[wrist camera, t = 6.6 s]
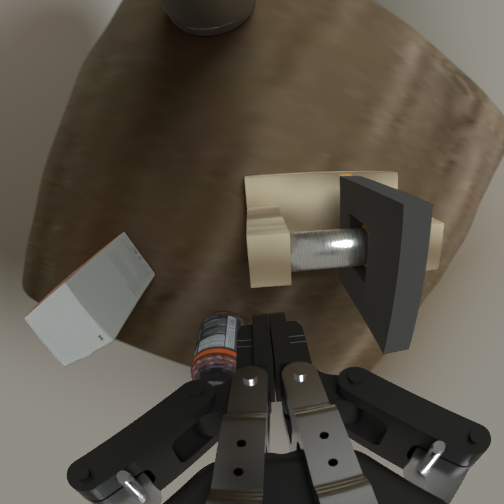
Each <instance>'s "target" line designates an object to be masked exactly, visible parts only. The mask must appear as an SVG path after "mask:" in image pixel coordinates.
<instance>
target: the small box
mask: <svg viewBox="0 0 504 504" xmlns="http://www.w3.org/2000/svg"><path fill="white" fill-rule="evenodd" d="M154 276H155V273H154V272H153V270H152V269H151V268H150V266H149V265H148V264H147V262H146V261H145V260H144V258H143V257H142V255H141V254H140V253H139V251H138V250H137V249H136V247H135V246H134V244H133V243H132V242H131V240H130V239H129V237H128V236H127V235H126V233H125V232H123V233H121V234H120V235H119V236H117V237H116V238H115V239H114V240H112V241H111V242H110V243H108V244H107V245H106V246H105V247H103V248H102V249H101V250H100V251H98V252H97V253H96V254H95V255H94V256H92V257H91V258H90V259H89V260H87V261H86V262H85V263H84V264H82V265H81V266H80V267H79V268H78V269H77V270H75V271H74V272H73V273H72V274H71V275H70V276H68V277H67V278H66V279H65V280H64V281H63V282H61V283H60V284H59V285H58V286H57V287H56V288H55V289H53V290H52V291H51V292H50V293H49V294H48V295H47V296H46V297H45V298H44V299H43V300H41V301H40V302H39V303H38V304H37V305H36V306H35V307H34V308H33V309H32V310H31V311H30V312H29V313H28V314H27V315H26V316H25V317H24V319H25V320H26V322H27V323H28V324H29V326H30V327H31V328H32V329H33V331H34V332H35V333H36V334H37V335H38V337H39V338H40V339H41V341H42V342H43V343H44V344H45V345H46V347H47V348H48V349H49V350H50V351H51V352H52V354H54V356H55V357H56V358H57V359H58V360H59V361H60V363H61V364H62V365H63V366H64V367H65V366H68V365H71V364H73V363H75V362H77V361H79V360H81V359H83V358H85V357H87V356H89V355H91V354H93V353H94V352H96V351H97V350H99V349H101V348H103V347H104V346H106V345H108V344H110V343H112V342H113V341H114V340H115V338H116V336H117V335H118V333H119V331H120V330H121V328H122V327H123V325H124V323H125V322H126V320H127V318H128V317H129V315H130V314H131V312H132V310H133V309H134V307H135V305H136V304H137V302H138V300H139V299H140V297H141V296H142V294H143V293H144V291H145V290H146V288H147V287H148V285H149V284H150V282H151V281H152V279H153V278H154Z"/></svg>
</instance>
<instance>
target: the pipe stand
mask: <svg viewBox="0 0 504 504" xmlns="http://www.w3.org/2000/svg"><path fill="white" fill-rule="evenodd" d="M340 176H362V177H365V178H368V179H371V180H373V181H376V182H379V183H382V184H384V185H387V186H390V187H392V188H395V189H398V173H397V172H393V171H333V172H304V173H284V174H268V175H254V176H245V190H246V202H247V233H246V237H247V249H248V260H249V271H250V283H251V288H257V287H270V286H282V285H291V272H297V271H308V270H320V269H331V268H342V267H353V266H363V265H364V266H365V267H366V266H367V251H368V233H369V228H368V227H367V226H365V225H364V224H363V226H362V227H361V228H349V229H340ZM443 230H444V223H442V222H440V221H438V220H436V219H434V218H432V222H431V232H430V241H429V250H428V257H427V264H426V270H433V269H438V267H439V260H440V254H441V247H442V239H443Z"/></svg>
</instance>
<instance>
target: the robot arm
mask: <svg viewBox="0 0 504 504" xmlns="http://www.w3.org/2000/svg"><path fill="white" fill-rule="evenodd" d="M158 2H159V3H160V4H161V6H162V8H163V9H164V10H165V12H166V13H167V15H168V16H169V17H170V19H171V20H172V22H173V23H174V24H175V25H176V26H177V27H178V28H179V29H181V30H183V31H185V32H186V33H190V34H193V35H199V36H213V35H218V34H223V33H226V32H228V31H231V30H233V29H235V28H236V27H238V26H240V25H241V24H242V23H243V22H245V21H246V20H247V18H248V17H249V16H250V15H251V13H252V11H253V8H254V5H255V0H158ZM252 320H253V325H242V326H241V328H240V329H239V330H238V332H237V353H236V371H235V373H234V374H233V376H232V378H231V379H230V380H228V381H227V382H225V383H222V384H219V385H215V386H212V385H211V384H210V383H208V382H206V381H203V380H193V381H190V382H187V383H185V384H184V385H182V386H181V387H180V388H179V389H177V390H176V391H175V392H173V393H172V394H171V395H169V396H168V397H167V398H165V399H164V400H163V401H161V402H160V403H159V404H157V405H156V406H155V407H153V408H152V409H150V410H149V411H148V412H146V413H145V414H144V415H142V416H141V417H139V418H138V419H137V420H135V421H134V422H133V423H131V424H130V425H128V426H127V427H126V428H124V429H123V430H121V431H120V432H118V433H117V434H115V435H114V436H113V437H111V438H110V439H108V440H107V441H106V442H104V443H102V444H101V445H99V446H98V447H96V448H95V449H93V450H92V451H91V452H89V453H87V454H86V455H84V456H83V457H81V458H80V459H78V460H76V461H75V462H74V463H72V464H71V465H70V467H69V468H68V471H67V480H68V482H69V484H70V485H71V486H72V487H73V488H74V489H75V490H76V491H78V492H79V493H80V494H81V495H82V496H83V497H84V498H85V499H86V500H88V501H89V502H90V503H91V504H160V503H161V492H160V491H161V490H162V489H163V488H164V487H166V486H167V485H168V484H169V483H171V482H172V481H173V480H174V479H176V478H177V477H178V476H179V475H180V474H182V472H184V471H185V470H186V469H187V468H189V467H190V466H191V465H192V464H193V463H194V462H195V461H197V460H198V459H199V458H200V457H201V456H202V455H203V454H204V453H206V452H207V451H208V450H209V449H210V448H211V447H212V446H213V445H214V444H215V443H216V442H218V447H217V453H216V459H215V462H213V463H211V464H209V465H207V466H205V467H204V468H202V469H201V470H200V471H199V472H197V473H196V474H195V475H194V476H193V477H192V478H191V479H190V480H189V481H188V482H187V483H186V484H184V485H183V487H181V488H180V489H179V490H178V491H177V492H176V493H175V494H173V495H172V496H171V497H170V498H169V499H168V500H167V501H166V502H164V503H163V504H450V502H451V500H452V499H453V497H454V495H455V494H456V491H457V490H458V489H459V487H460V485H461V483H462V481H463V480H464V478H465V476H466V474H467V472H468V470H469V468H471V466H472V465H473V464H474V463H475V462H476V461H477V460H478V459H479V458H480V457H481V456H482V454H483V453H484V452H485V451H486V450H487V448H488V447H489V445H490V442H491V436H490V433H489V431H488V430H487V429H486V428H485V427H484V426H482V425H480V424H478V423H476V422H473V421H471V420H469V419H467V418H464V417H462V416H460V415H458V414H456V413H453V412H451V411H449V410H447V409H444V408H442V407H440V406H438V405H436V404H434V403H432V402H430V401H428V400H426V399H424V398H421V397H419V396H417V395H415V394H413V393H411V392H409V391H407V390H405V389H403V388H401V387H399V386H397V385H395V384H393V383H391V382H389V381H387V380H385V379H383V378H381V377H379V376H377V375H375V374H373V373H371V372H369V371H368V370H366V369H363V368H360V367H350V368H347V369H344V370H343V371H342V372H341V373H340V374H339V375H330V374H325V373H322V372H320V371H318V370H317V369H316V368H315V367H314V366H313V365H312V362H311V358H310V354H309V351H308V347H307V343H306V340H305V336H304V332H303V328H302V326H301V325H299V324H298V323H297V322H296V321H291V322H286V318H285V314H284V312H275V313H269V321H268V313H263V314H252ZM269 328H270V330H269ZM274 383H275V389H274ZM275 392H276V401H277V402H278V401H282V407H283V419H284V424H285V429H286V433H287V438H288V442H289V446H290V452H289V453H287V454H275V453H270V414H271V402H275ZM349 438H351V439H352V440H354V441H356V442H357V443H359V444H361V445H362V446H364V447H366V448H367V449H369V450H370V451H372V452H374V453H376V454H377V455H379V456H381V457H382V458H384V459H386V460H388V461H389V462H391V463H393V464H395V465H397V466H398V467H400V468H402V469H404V470H403V474H404V478H403V477H401V476H399V475H398V474H396V473H395V472H393V471H391V470H390V469H388V468H387V467H385V466H383V465H382V464H380V463H379V462H377V461H375V460H374V459H372V458H371V457H369V456H367V455H366V454H364V453H362V452H359V451H356V450H354V449H353V447H352V444H351V442H350V439H349Z"/></svg>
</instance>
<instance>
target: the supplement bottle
mask: <svg viewBox="0 0 504 504" xmlns="http://www.w3.org/2000/svg"><path fill="white" fill-rule="evenodd" d="M242 325H247V324H246V323H245V321H244V320H243V319H242V318H241V317H240V316H238V315H236V314H234V313H231V312H225V311H222V312H216V313H213V314H211V315H209V316H208V317H206V319H205V320H204V321H203V323H202V325H201V328H200V332H199V336H198V340H197V344H196V348H195V353H194V357H193V362H192V366H191V377H192V380H203V381H206V382H208V383H210V384H211V385H212V386H215V385H219V384H222V383H225V382H227V381H228V380H230V379H231V378H232V376H233V374H234V373H235V371H236V353H237V332H238V330H239V329H240V328H241V326H242Z"/></svg>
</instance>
